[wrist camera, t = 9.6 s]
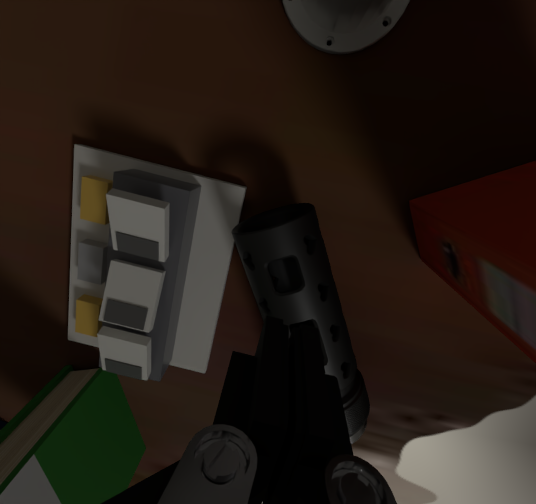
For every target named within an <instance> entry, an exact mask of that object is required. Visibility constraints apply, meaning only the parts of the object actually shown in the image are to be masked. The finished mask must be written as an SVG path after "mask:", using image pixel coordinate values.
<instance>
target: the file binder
mask: <svg viewBox="0 0 536 504" xmlns="http://www.w3.org/2000/svg"><path fill="white" fill-rule="evenodd" d="M409 203H410V204H409V206H410V211H411V216H412V221H413V225H414V230H415V235H416V239H417V244H418V249H419V254H420V258H421V260H422V261H423V262H424V263H425V264H426V265H427V266H428V267H429V268H431V269H432V270H433V271H434V272H435V273H436V274H437V275H438V276H439V277H441V278H442V279H443V280H444V281H445V282H446V283H447V284H448V285H449V286H451V287H452V288H453V289H454V290H455V291H456V292H457V293H458V294H459V295H460V296H462V297H463V298H464V299H465V300H466V301H467V302H468V303H469V304H470V305H472V306H473V307H474V308H475V309H476V310H477V311H478V312H479V313H480V314H482V315H483V316H484V317H485V318H486V319H487V320H488V321H489V322H490V323H492V324H493V325H494V326H495V327H496V328H497V329H498V330H499V331H500V332H502V333H503V334H504V335H505V336H506V337H507V338H508V339H509V340H510V341H512V342H513V343H514V344H515V345H516V346H517V347H518V348H519V349H520V350H522V351H523V352H524V353H525V354H526V355H527V356H528V357H529V358H530V359H531V360H533V361H534V362H535V363H536V161H532V162H529V163H526V164H523V165H520V166H517V167H513V168H510V169H507V170H504V171H501V172H498V173H495V174H491V175H488V176H485V177H482V178H479V179H476V180H472V181H469V182H466V183H463V184H460V185H457V186H453V187H450V188H447V189H444V190H441V191H438V192H434V193H431V194H428V195H425V196H422V197H419V198H415V199H412V200H409Z"/></svg>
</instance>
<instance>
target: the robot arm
mask: <svg viewBox="0 0 536 504" xmlns="http://www.w3.org/2000/svg"><path fill="white" fill-rule="evenodd" d="M409 1H410V0H292V1H289V0H282V2H283V6H284V9H285V13H286V15H287V17H288V19H289V21H290V23H291V25H292V27H293V28H294V29H295V31H296V32H297V34H298V35H299V36H300V37H301V38H302V39H303V40H304V41H306V42H307V43H308V44H309V45H311V46H313V47H314V48H316V49H318V50H320V51H323V52H326V53H330V54H340V55H342V54H350V53H355V52H358V51H361V50H364V49H366V48H368V47H370V46H371V45H373V44H375V43H377V42H378V41H379V40H380V39H381V38H383V37H384V36H385V35H386V34H387V33H388V32H389V31H390V30H391V29H392V28H393V27H394V26H395V24H396V23H397V21H398V20H399V19H400V17H401V16H402V14H403V13H404V11H405V9H406V7H407V5H408V3H409ZM383 22H386V24H387V26H386V27H385V26H383V24H382V23H383ZM328 41H330V42H331V45H330V46H328V45H327V42H328ZM262 501H263V504H397V503H396V500H395V498H394V496H393V493H392V491H391V489H390V487H389V485H388V484H387V482H386V480H385V479H384V477H383V476H382V475H381V474H380V473H379V471H378V470H377V469H376V468H374V467H373V466H372V465H371V464H369V463H368V462H367V461H365V460H363V459H361V458H359V457H357V456H353V451H352V446H351V441H350V436H349V432H348V427H347V422H346V417H345V412H344V407H343V402H342V397H341V393H340V388H339V383H338V379H337V378H336V377H335V376H332V375H328V374H325V368H324V361H323V355H322V348H321V342H320V336H319V330H318V328H315V327H311V326H307V325H303V324H301V325H300V326H299V328H296V327H293V329H292V331H291V335H290V338H289V326H288V325H284V324H283V319H279V318H275V317H271V316H267V315H266V318H265V321H264V325H263V328H262V332H261V336H260V339H259V343H258V346H257V350H256V353H255V356H251V355H247V354H243V353H239V352H235V351H233V353H232V356H231V360H230V364H229V367H228V371H227V375H226V378H225V382H224V386H223V389H222V393H221V397H220V400H219V404H218V408H217V411H216V415H215V419H214V422H213V425H211V426H208V427H205V428H203V429H202V430H200V431H199V432H198V433H196V434H195V436H194V437H193V438H192V440H191V441H190V442H189V444H188V446H187V448H186V450H185V452H184V454H183V456H182V458H181V460H179V461H177V462H175V463H174V464H172V465H170V466H168V467H166V468H165V469H163V470H161V471H159V472H157V473H155V474H154V475H152V476H150V477H148V478H146V479H144V480H143V481H141V482H139V483H137V484H135V485H134V486H132V487H130V488H128V489H126V490H124V491H123V492H121V493H119V494H117V495H115V496H114V497H112V498H110V499H108V500H106V501H104V502H103V503H101V504H262Z"/></svg>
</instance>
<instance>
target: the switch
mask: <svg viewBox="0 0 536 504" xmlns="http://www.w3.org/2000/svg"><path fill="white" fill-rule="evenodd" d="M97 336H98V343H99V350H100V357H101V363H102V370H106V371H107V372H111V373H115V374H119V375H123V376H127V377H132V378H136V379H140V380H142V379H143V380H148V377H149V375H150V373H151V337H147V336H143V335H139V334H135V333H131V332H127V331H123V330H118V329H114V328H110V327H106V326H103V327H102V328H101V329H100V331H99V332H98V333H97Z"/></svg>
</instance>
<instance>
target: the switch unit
mask: <svg viewBox="0 0 536 504" xmlns="http://www.w3.org/2000/svg"><path fill="white" fill-rule="evenodd" d="M112 188H114V189H118V190H122V191H126V192H130V193H133V194H137V195H141V196H145V197H149V198H153V199H157V200H161V201H165V202H169V256H168V258H167V259H166V261H165V262H161V261H157V260H153V259H149V258H145V257H141V256H137V255H133V254H129V253H125V252H122V251H118V250H114V249H113V243H112V236H111V228H110V221H109V213H108V206H107V199H106V193H108V192H109V191H110V190H111V189H112ZM246 189H247V187H245V186H241V185H238V184H234V183H230V182H226V181H222V180H218V179H214V178H210V177H206V176H203V175H199V174H195V173H191V172H187V171H183V170H179V169H175V168H171V167H168V166H164V165H160V164H156V163H152V162H148V161H144V160H140V159H137V158H133V157H129V156H125V155H121V154H117V153H113V152H109V151H105V150H102V149H98V148H94V147H90V146H86V145H82V144H74V170H73V200H72V229H71V258H70V288H69V317H68V340H71V341H75V342H79V343H83V344H87V345H91V346H95V347H99V343H98V336H97V333H98V332H99V331H100V329H101V328H102V327H103V326H106V327H110V328H114V329H118V330H123V331H127V332H131V333H135V334H139V335H143V336H147V337H151V373H150V375H149V377H148V379H151V380H155V381H159V382H160V380H161V378H162V377H163V375H164V373H165V371H166V369H167V367H168V366H169V365H173V366H177V367H181V368H185V369H189V370H193V371H197V372H201V373H205V372H206V369H207V366H208V361H209V357H210V352H211V348H212V343H213V339H214V334H215V329H216V325H217V320H218V316H219V311H220V307H221V302H222V298H223V293H224V289H225V284H226V279H227V275H228V270H229V266H230V261H231V257H232V252H233V248H234V243H235V241H234V238H233V236H232V233H231V232H232V229H233V228H234V227H235V226H236V225H238V224H239V220H240V216H241V211H242V207H243V202H244V198H245V193H246ZM114 259H119V260H123V261H127V262H131V263H135V264H139V265H143V266H147V267H151V268H155V269H159V270H163V271H166V272H165V277H164V281H163V286H162V290H161V295H160V299H159V303H158V308H157V312H156V317H155V321H154V326H153V329H152V330H151V331H150V332H149V333H148V332H144V331H140V330H136V329H132V328H127V327H123V326H119V325H115V324H111V323H107V322H103V321H99V315H100V311H101V306H102V301H103V296H104V291H105V287H106V282H107V277H108V272H109V267H110V263H111V260H114ZM99 367H102V363H101V357H99Z"/></svg>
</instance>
